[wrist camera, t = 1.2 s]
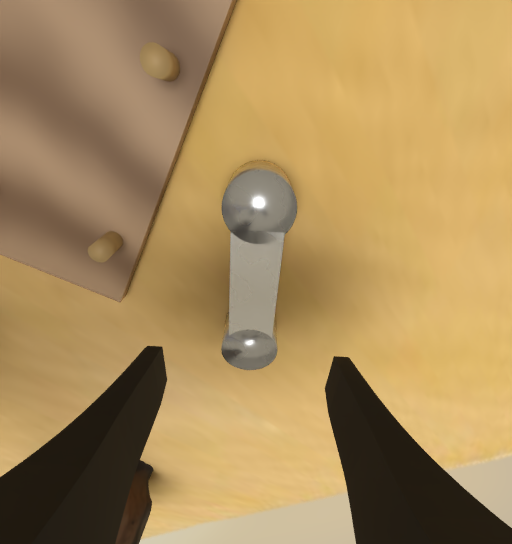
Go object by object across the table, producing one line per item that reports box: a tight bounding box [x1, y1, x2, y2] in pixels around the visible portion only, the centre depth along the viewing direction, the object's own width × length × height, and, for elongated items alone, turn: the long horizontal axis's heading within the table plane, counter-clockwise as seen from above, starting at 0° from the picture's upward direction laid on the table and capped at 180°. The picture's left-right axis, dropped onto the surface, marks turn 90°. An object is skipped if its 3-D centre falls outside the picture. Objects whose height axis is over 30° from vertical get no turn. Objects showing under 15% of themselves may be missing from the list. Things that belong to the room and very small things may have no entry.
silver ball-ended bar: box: [222, 160, 297, 370], centre depth 19 cm, size 14×4×3 cm, turn 176°
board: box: [0, 0, 237, 302], centre depth 15 cm, size 20×11×3 cm, turn 151°
